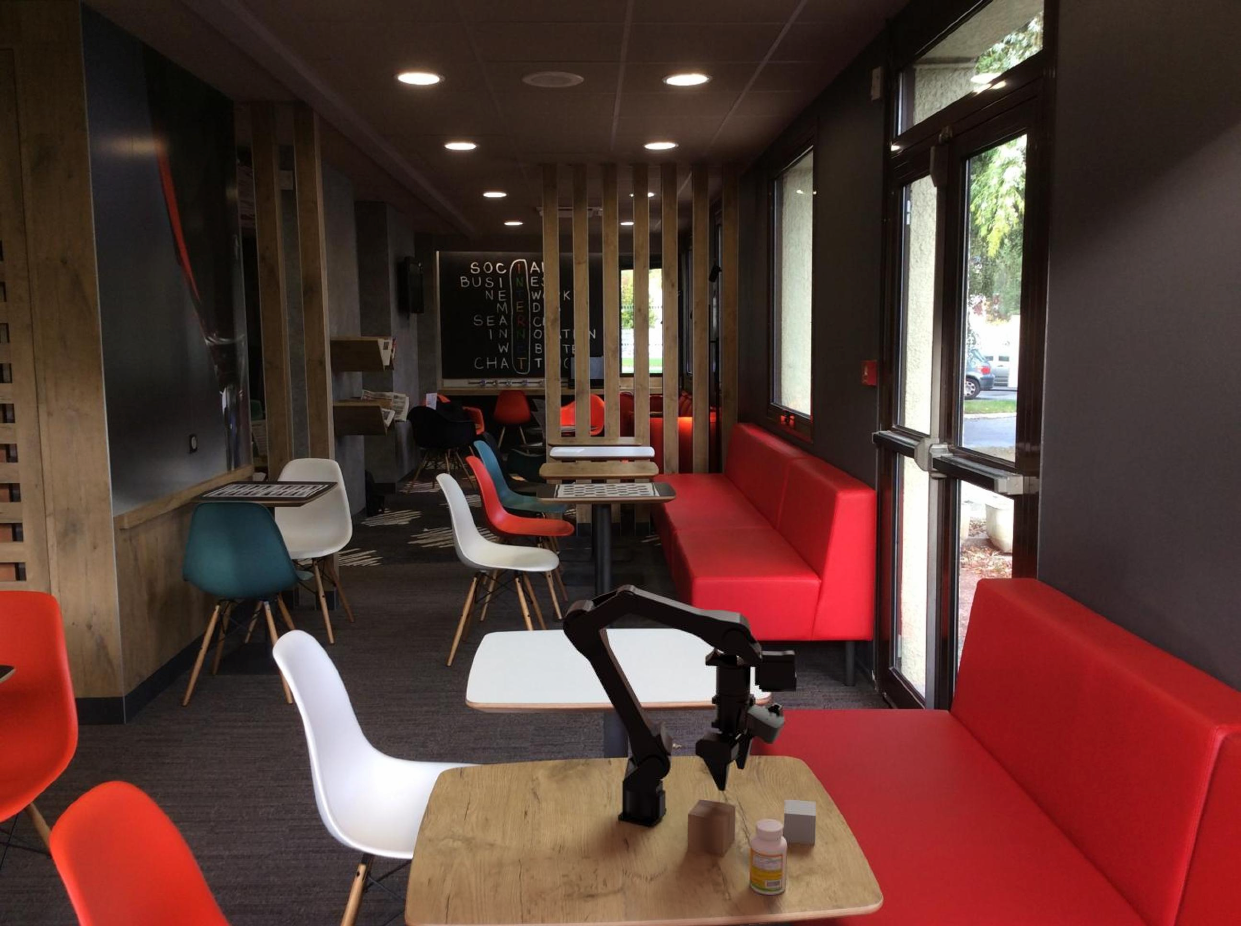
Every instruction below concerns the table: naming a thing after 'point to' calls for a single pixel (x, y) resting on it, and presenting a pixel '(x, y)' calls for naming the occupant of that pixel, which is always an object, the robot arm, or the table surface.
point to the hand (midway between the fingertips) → (731, 779)
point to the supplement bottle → (768, 858)
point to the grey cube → (800, 821)
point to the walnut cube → (711, 827)
